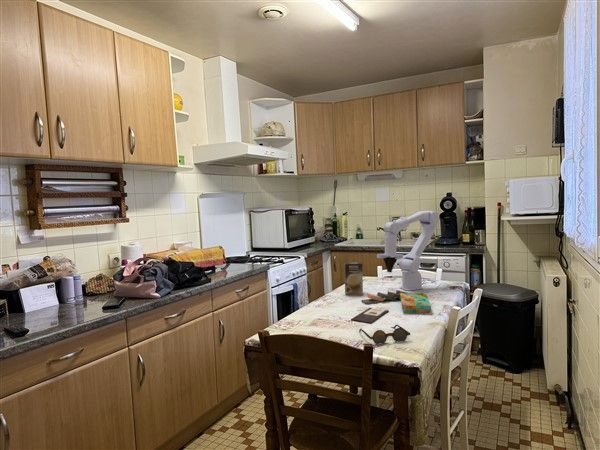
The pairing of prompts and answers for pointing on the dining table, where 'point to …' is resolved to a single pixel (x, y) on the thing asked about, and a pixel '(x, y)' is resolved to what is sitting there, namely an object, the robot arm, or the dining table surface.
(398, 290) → the domino
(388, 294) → the domino
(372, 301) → the domino
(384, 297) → the domino
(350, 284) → the coffee box
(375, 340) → the eyeglasses
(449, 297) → the dining table surface
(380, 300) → the domino
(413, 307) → the puzzle game
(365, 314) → the chocolate bar
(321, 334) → the dining table surface
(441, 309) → the dining table surface
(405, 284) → the robot arm
